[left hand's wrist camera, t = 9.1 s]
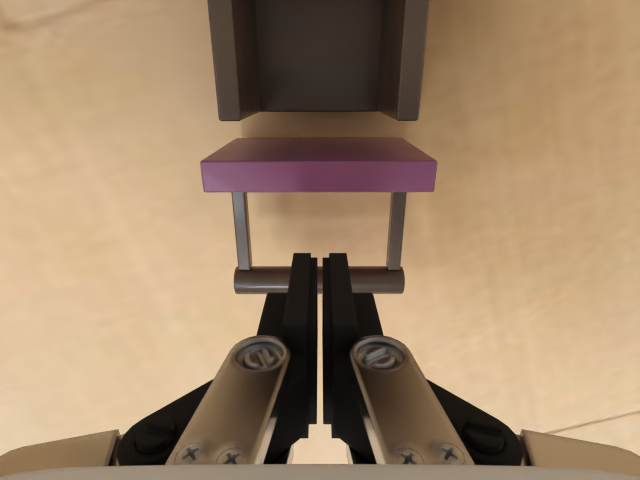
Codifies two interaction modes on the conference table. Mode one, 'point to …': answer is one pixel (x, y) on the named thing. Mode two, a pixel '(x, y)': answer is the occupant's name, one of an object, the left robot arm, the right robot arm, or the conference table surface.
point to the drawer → (318, 96)
